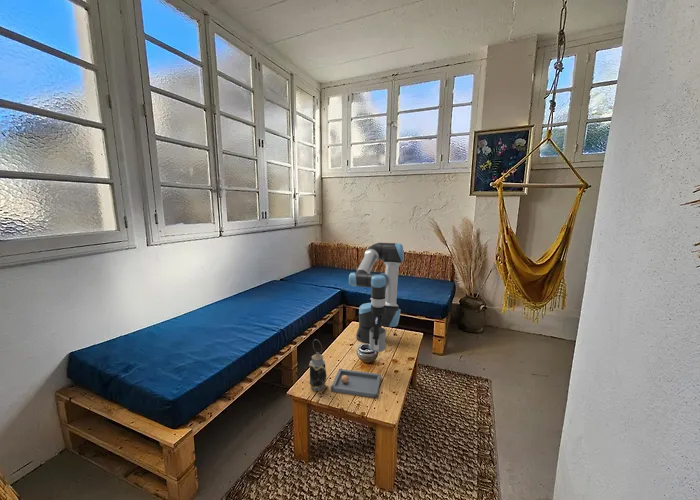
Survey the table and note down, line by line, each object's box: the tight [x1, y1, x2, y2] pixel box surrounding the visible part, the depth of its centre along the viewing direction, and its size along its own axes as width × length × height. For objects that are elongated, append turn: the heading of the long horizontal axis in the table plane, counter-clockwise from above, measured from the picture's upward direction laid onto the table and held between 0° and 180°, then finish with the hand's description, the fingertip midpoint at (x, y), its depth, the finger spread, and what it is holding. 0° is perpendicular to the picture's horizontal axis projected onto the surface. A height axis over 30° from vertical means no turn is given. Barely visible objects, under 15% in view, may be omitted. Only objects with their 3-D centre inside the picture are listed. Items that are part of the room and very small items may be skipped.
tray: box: [330, 368, 382, 399], centre depth 141 cm, size 16×22×2 cm
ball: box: [341, 375, 349, 383], centre depth 142 cm, size 4×4×4 cm
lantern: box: [308, 338, 327, 392], centre depth 137 cm, size 9×8×25 cm
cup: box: [368, 327, 387, 353], centre depth 151 cm, size 8×8×10 cm
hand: (377, 345), depth 152 cm, fingers closed on cup, 8 cm apart
